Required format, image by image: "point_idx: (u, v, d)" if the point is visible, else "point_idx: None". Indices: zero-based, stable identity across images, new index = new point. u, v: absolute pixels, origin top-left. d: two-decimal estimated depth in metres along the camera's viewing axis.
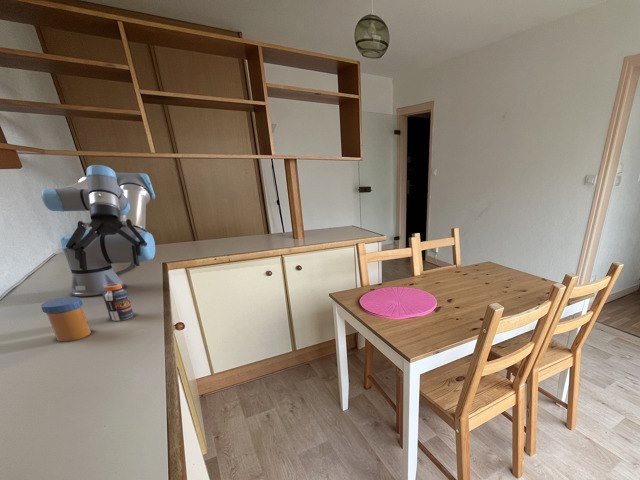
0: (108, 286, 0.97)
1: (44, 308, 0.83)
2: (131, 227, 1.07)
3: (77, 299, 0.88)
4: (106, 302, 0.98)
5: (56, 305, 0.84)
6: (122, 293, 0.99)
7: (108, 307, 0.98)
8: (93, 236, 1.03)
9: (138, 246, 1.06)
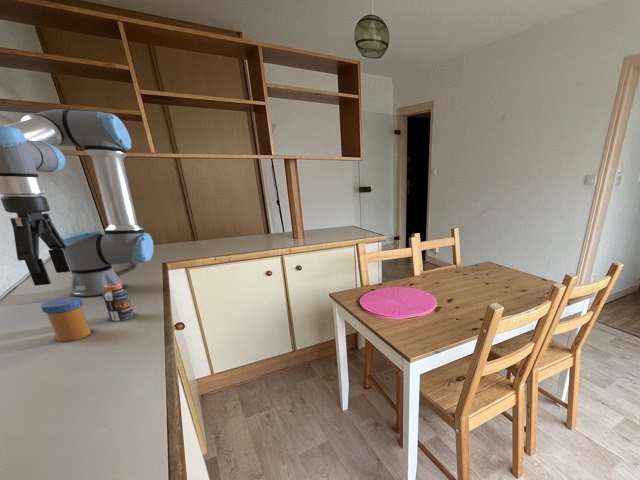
0: (108, 286, 0.97)
1: (44, 308, 0.83)
2: None
3: (77, 299, 0.88)
4: (106, 302, 0.98)
5: (56, 305, 0.84)
6: (122, 293, 0.99)
7: (108, 307, 0.98)
8: (42, 234, 0.84)
9: None
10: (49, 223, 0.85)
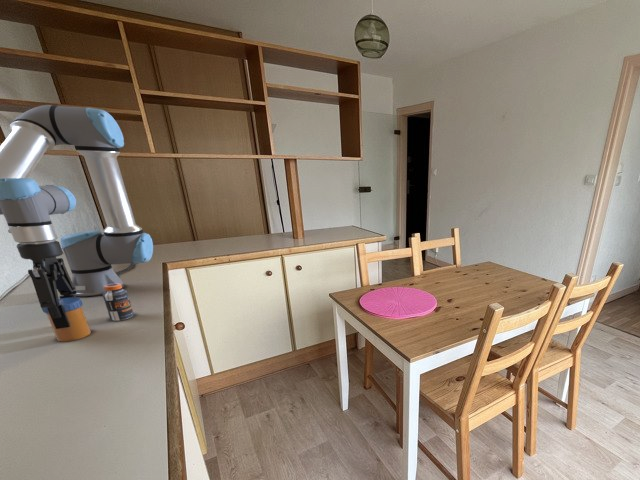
0: (108, 286, 0.97)
1: (44, 308, 0.83)
2: None
3: (77, 299, 0.88)
4: (106, 302, 0.98)
5: None
6: (122, 293, 0.99)
7: (108, 307, 0.98)
8: None
9: None
10: (62, 267, 0.88)
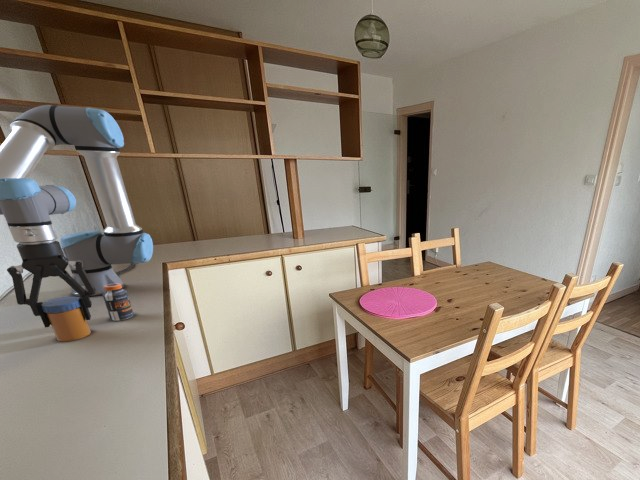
0: (108, 286, 0.97)
1: (74, 303, 0.87)
2: (80, 273, 0.87)
3: None
4: (106, 302, 0.98)
5: (75, 299, 0.88)
6: (122, 293, 0.99)
7: (108, 307, 0.98)
8: (40, 282, 0.83)
9: (87, 298, 0.89)
10: (21, 274, 0.81)
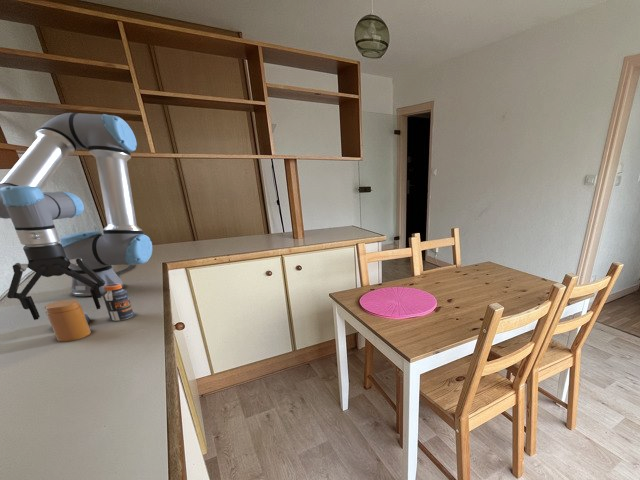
0: (108, 286, 0.97)
1: None
2: (84, 268, 0.94)
3: None
4: (106, 302, 0.98)
5: None
6: (122, 293, 0.99)
7: (108, 307, 0.98)
8: (37, 280, 0.89)
9: (97, 289, 0.98)
10: (22, 271, 0.88)
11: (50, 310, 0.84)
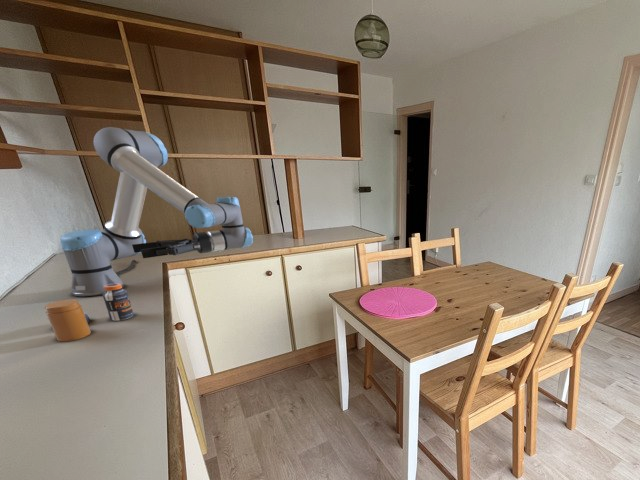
0: (108, 286, 0.97)
1: None
2: None
3: None
4: (106, 302, 0.98)
5: None
6: (122, 293, 0.99)
7: (108, 307, 0.98)
8: None
9: None
10: None
11: (50, 310, 0.84)
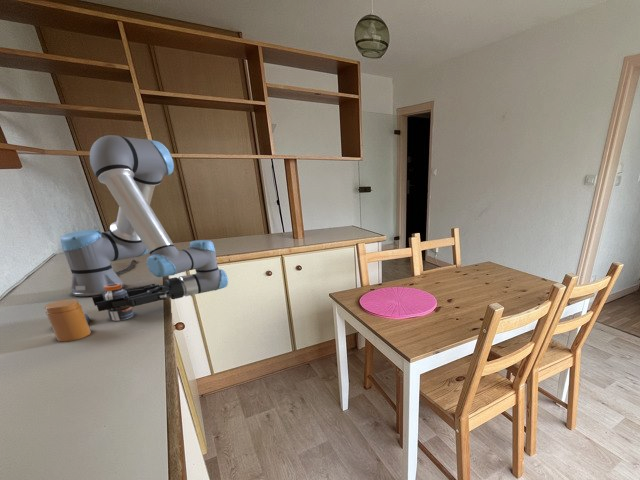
0: (108, 286, 0.97)
1: None
2: None
3: None
4: None
5: None
6: (122, 293, 0.99)
7: None
8: None
9: None
10: None
11: (50, 310, 0.84)
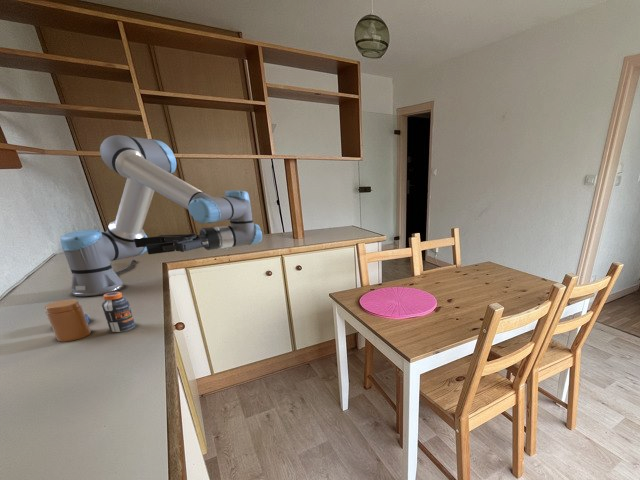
0: (108, 295, 0.90)
1: None
2: None
3: None
4: (105, 312, 0.91)
5: None
6: (123, 303, 0.92)
7: (108, 318, 0.91)
8: None
9: None
10: None
11: (50, 310, 0.84)
